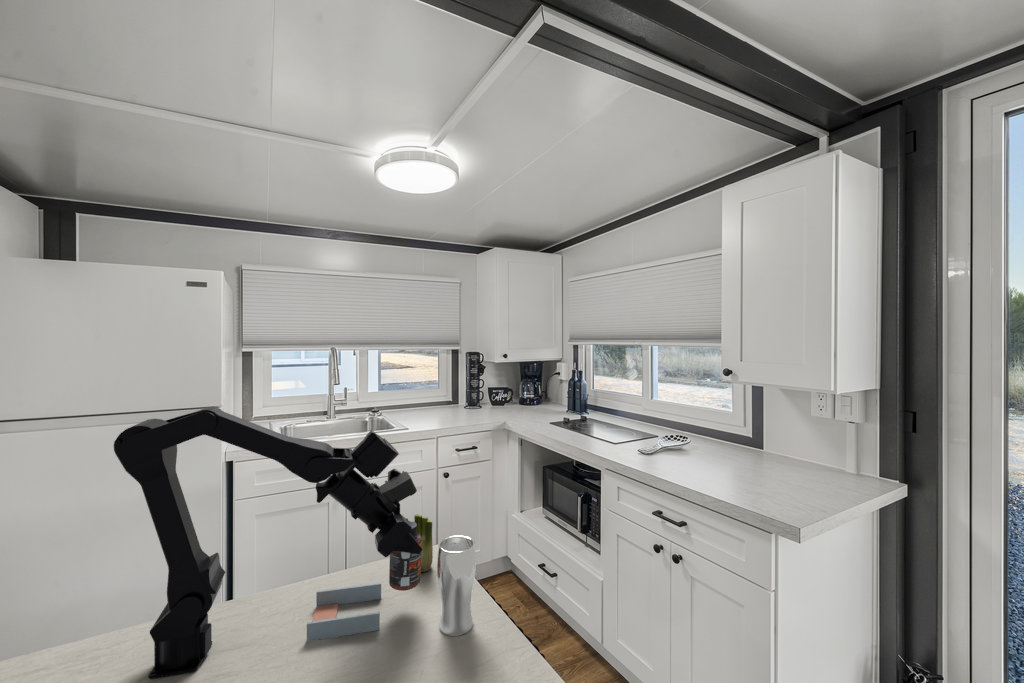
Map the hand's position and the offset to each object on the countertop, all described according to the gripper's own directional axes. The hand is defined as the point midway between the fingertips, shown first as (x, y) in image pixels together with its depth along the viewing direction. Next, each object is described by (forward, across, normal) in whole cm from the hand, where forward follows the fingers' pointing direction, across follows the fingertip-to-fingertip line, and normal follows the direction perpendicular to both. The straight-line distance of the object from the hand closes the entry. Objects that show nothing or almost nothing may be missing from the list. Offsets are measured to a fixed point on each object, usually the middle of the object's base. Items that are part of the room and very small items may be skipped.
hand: (417, 544), depth 85 cm
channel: (0, +2, +18) cm, 18 cm away
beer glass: (+13, -8, +5) cm, 16 cm away
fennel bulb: (+12, +13, +6) cm, 19 cm away
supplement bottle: (+4, 0, +7) cm, 8 cm away
